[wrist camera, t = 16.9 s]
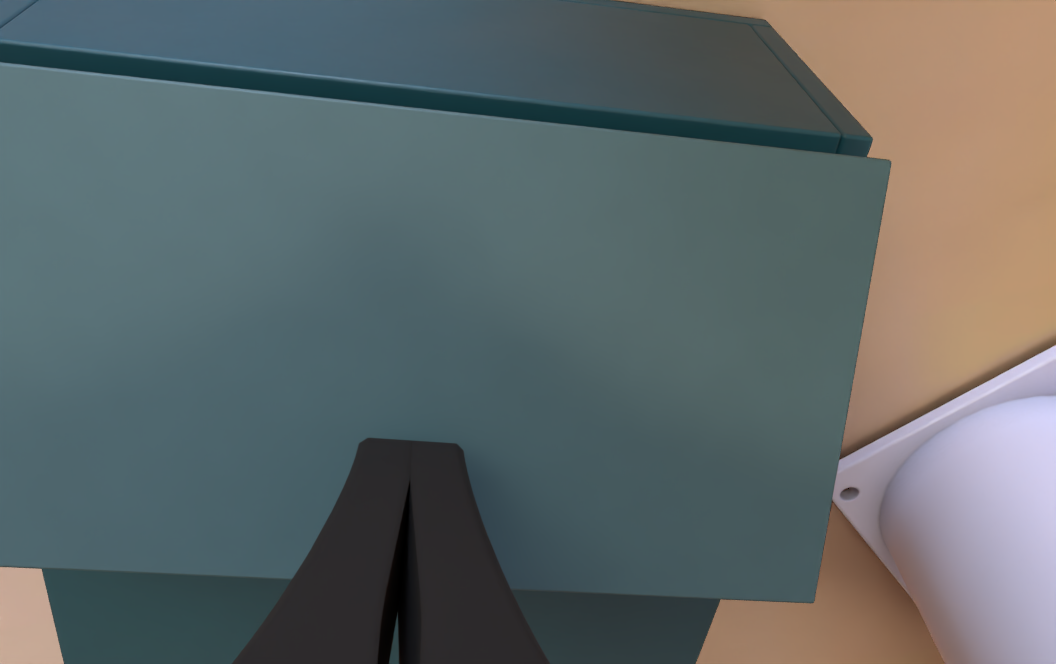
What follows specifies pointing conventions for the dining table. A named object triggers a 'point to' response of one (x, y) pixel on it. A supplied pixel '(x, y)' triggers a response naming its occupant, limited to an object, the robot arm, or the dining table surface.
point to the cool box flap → (419, 333)
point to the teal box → (447, 85)
